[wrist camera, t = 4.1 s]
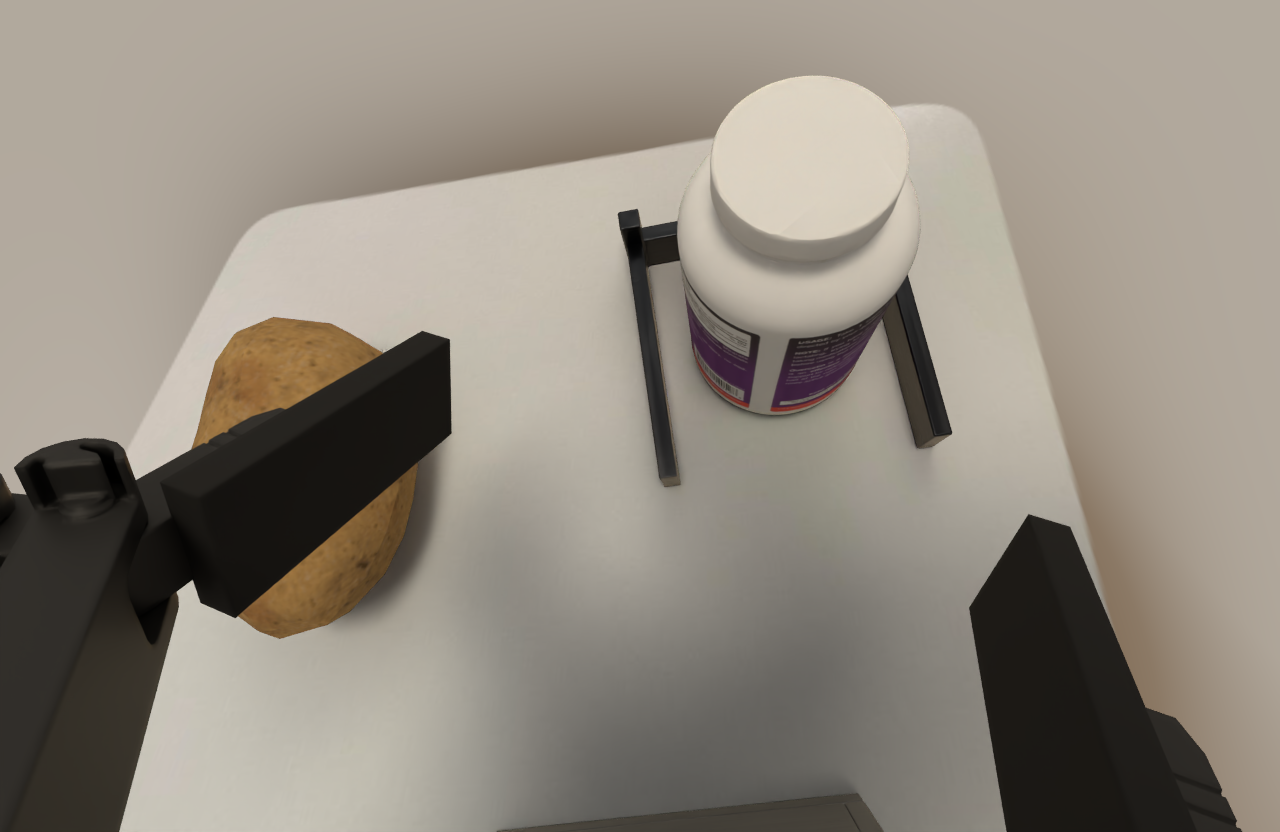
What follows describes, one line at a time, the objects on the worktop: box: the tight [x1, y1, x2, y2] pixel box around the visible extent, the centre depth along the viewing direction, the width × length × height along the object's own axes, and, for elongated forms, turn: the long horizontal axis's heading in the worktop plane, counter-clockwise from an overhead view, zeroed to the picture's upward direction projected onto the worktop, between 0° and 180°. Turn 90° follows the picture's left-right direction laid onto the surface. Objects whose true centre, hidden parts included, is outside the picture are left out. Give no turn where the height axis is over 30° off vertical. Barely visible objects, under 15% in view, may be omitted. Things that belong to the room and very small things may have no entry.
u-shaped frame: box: [618, 209, 952, 487], centre depth 29 cm, size 13×13×4 cm
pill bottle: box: [677, 76, 920, 415], centre depth 24 cm, size 8×8×14 cm
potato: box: [192, 317, 418, 639], centre depth 28 cm, size 10×14×8 cm
